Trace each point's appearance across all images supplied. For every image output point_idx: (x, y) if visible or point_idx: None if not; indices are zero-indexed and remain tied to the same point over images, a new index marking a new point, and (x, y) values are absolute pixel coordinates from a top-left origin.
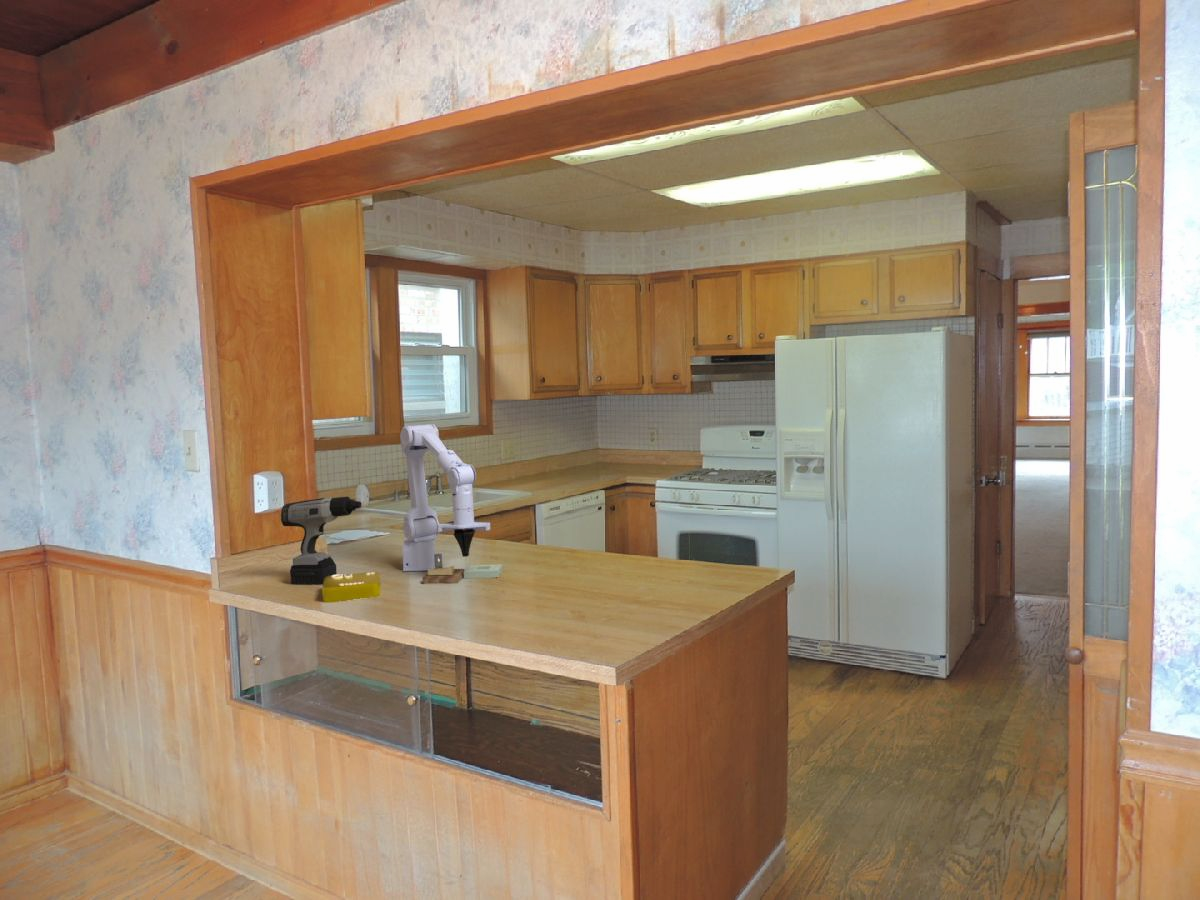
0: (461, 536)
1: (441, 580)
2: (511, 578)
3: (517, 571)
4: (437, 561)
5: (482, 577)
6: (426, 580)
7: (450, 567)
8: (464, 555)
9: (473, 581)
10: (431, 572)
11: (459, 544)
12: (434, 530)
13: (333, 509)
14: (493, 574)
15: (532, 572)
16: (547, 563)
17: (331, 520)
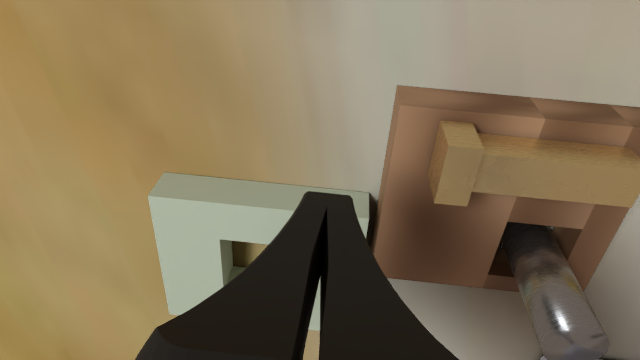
0: (330, 342)
1: (517, 105)
2: (77, 140)
3: (104, 266)
4: (565, 288)
5: (257, 182)
6: (630, 115)
7: (462, 166)
8: (331, 196)
9: (298, 113)
10: (611, 154)
11: (377, 271)
12: None
13: None
14: (185, 185)
15: (16, 235)
16: (23, 353)
17: None
